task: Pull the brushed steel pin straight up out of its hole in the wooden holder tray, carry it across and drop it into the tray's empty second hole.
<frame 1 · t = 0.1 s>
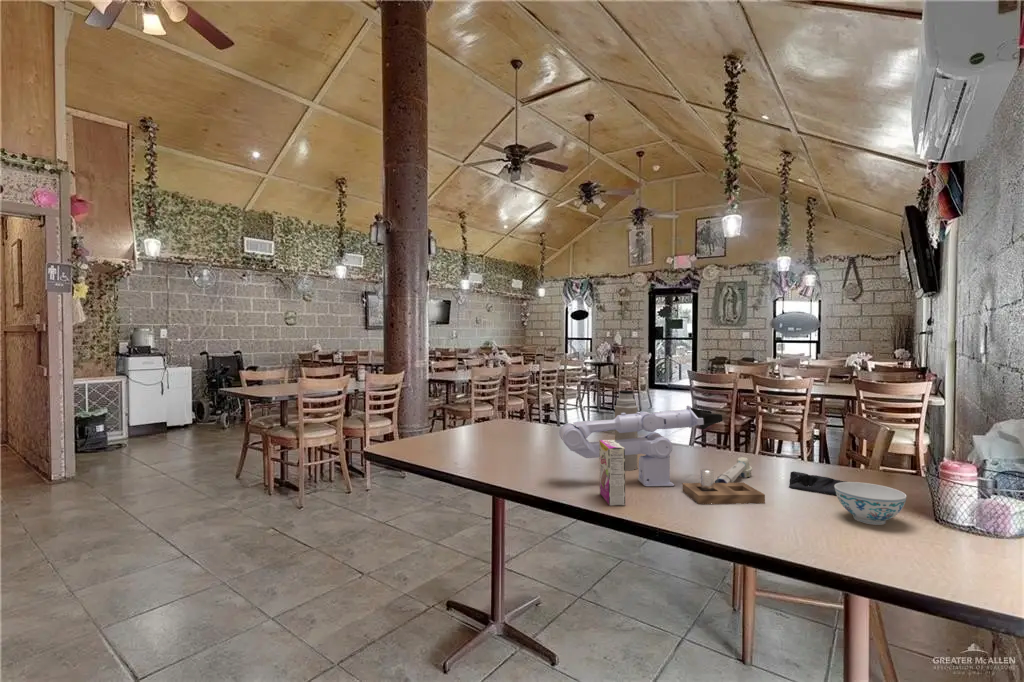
hand: (716, 416, 161), 22 cm above the table, tool horizontal, fingers open, 7 cm apart
steel pin: (707, 497, 146), resting in wooden holder tray
candy bar box: (611, 500, 144), on the table
thermos bottle: (626, 468, 181), on the table
chinaware: (869, 521, 128), on the table
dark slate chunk: (830, 491, 154), on the table
wooden holder tray: (722, 497, 146), on the table
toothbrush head: (734, 482, 162), on the table, touching wooden holder tray
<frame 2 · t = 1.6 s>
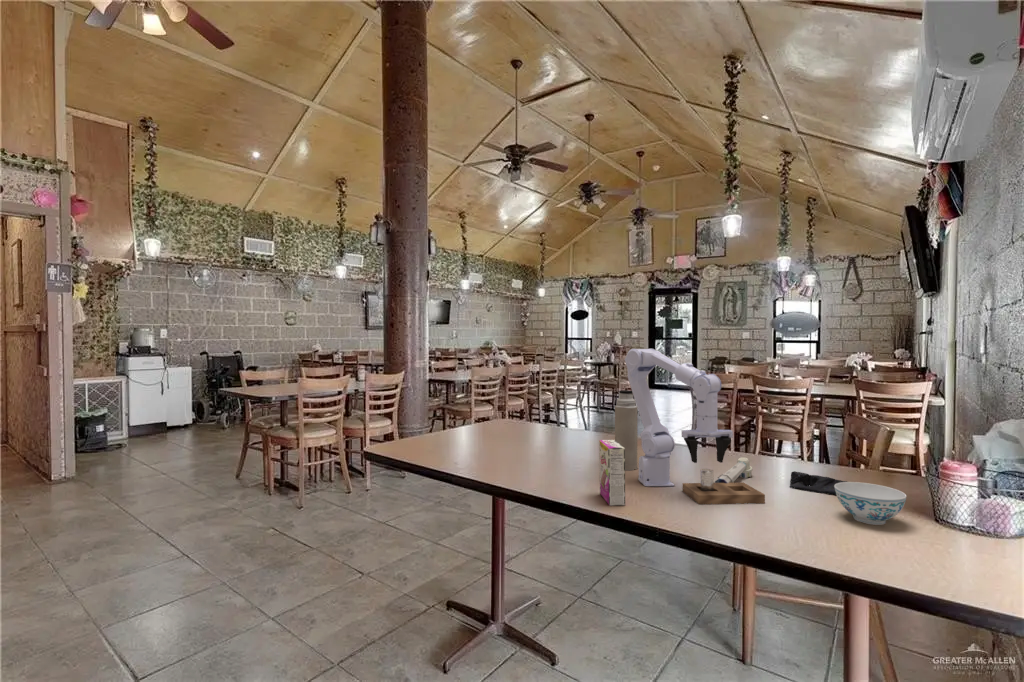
hand: (707, 461, 146), 10 cm above the table, tool pointing down, fingers open, 7 cm apart
nothing on the table moved.
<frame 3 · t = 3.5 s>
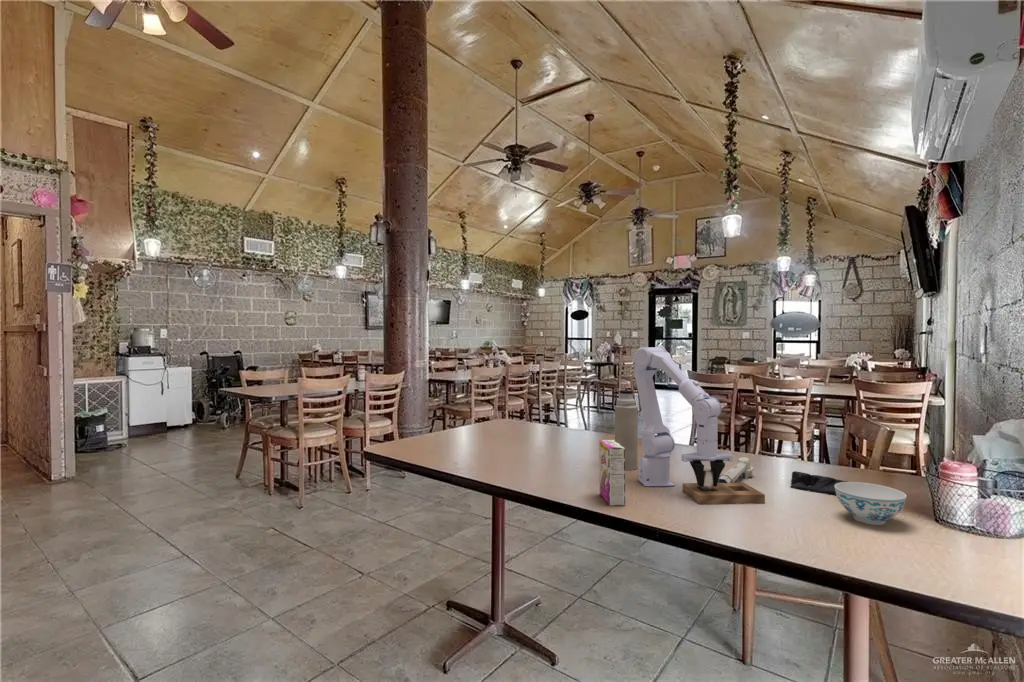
hand: (707, 485, 146), 3 cm above the table, tool pointing down, fingers closed on steel pin, 4 cm apart
steel pin: (707, 497, 146), resting in wooden holder tray, touching gripper
everything else where it was.
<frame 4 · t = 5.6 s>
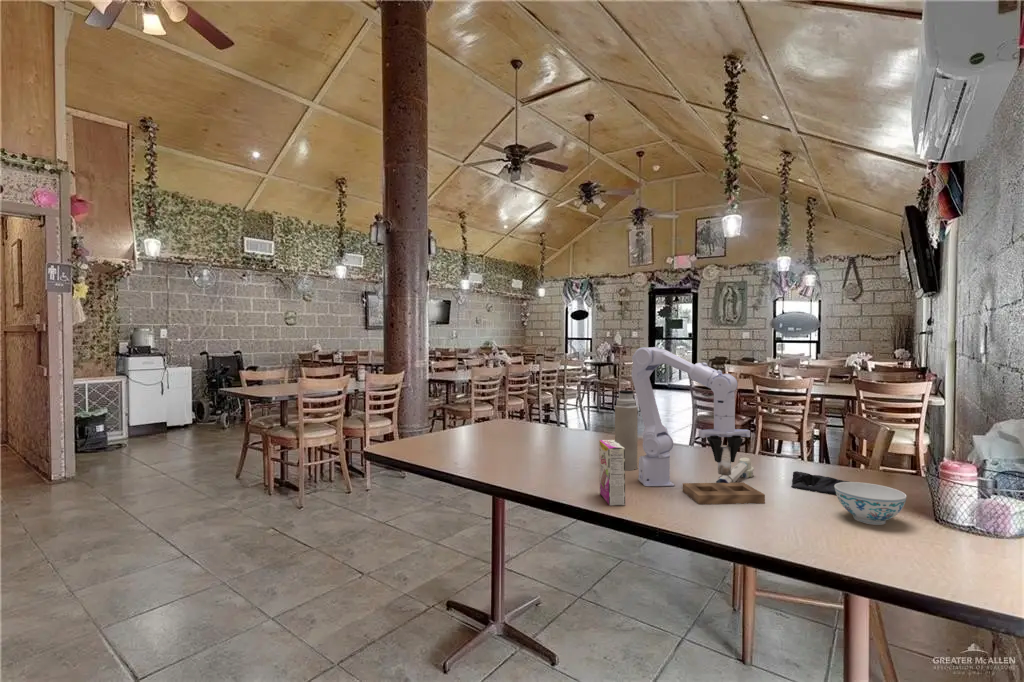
hand: (724, 461, 146), 10 cm above the table, tool pointing down, fingers closed on steel pin, 4 cm apart
steel pin: (724, 473, 146), point 7 cm above the table, touching gripper
everything else where it was.
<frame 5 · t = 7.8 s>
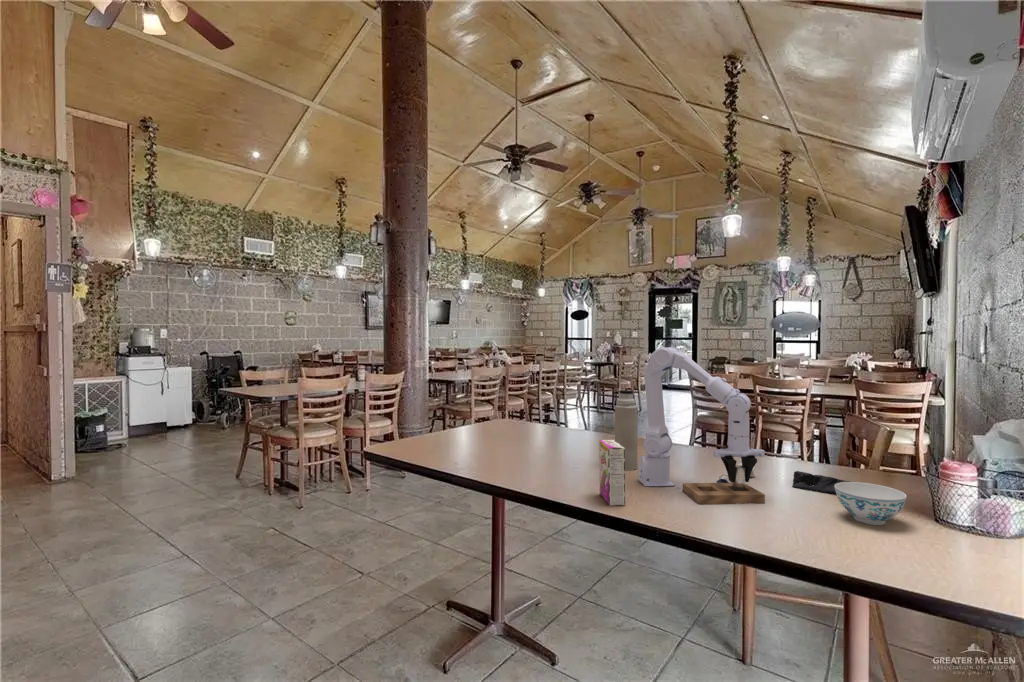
hand: (738, 481, 147), 5 cm above the table, tool pointing down, fingers closed on steel pin, 4 cm apart
steel pin: (738, 493, 147), point 1 cm above the table, touching gripper
when the fingers open (5 cm above the table, at t = 8.1 s): steel pin drops 1 cm, resting in wooden holder tray.
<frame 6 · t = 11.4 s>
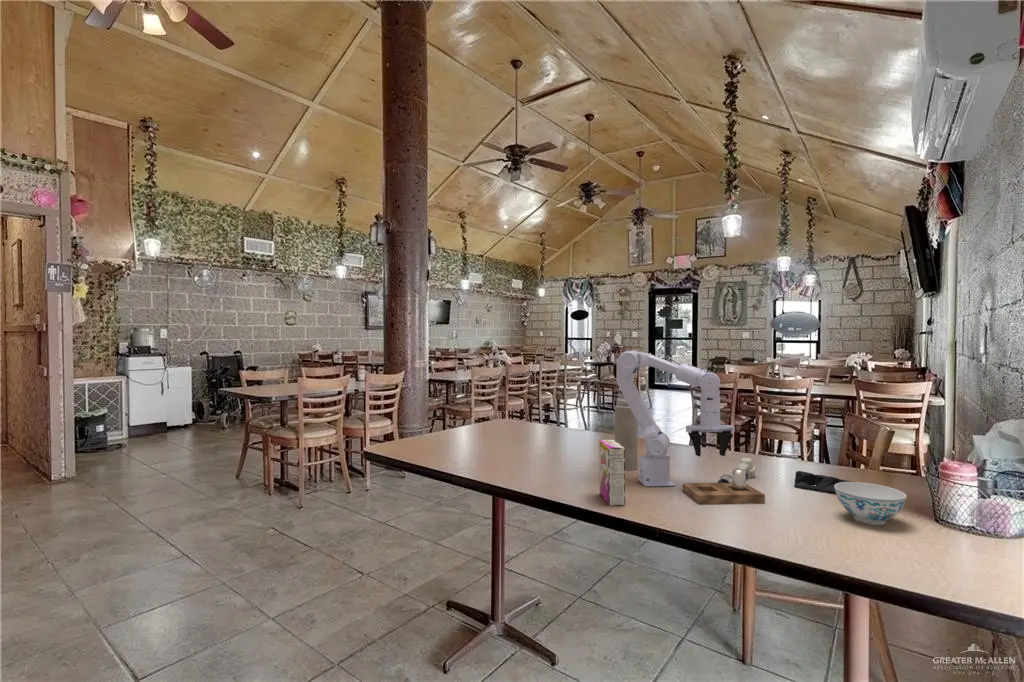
hand: (710, 455, 154), 10 cm above the table, tool pointing down, fingers open, 7 cm apart
steel pin: (738, 497, 147), resting in wooden holder tray
at the end: steel pin 0.1 cm from the target spot on the wooden holder tray, point 0.0 cm above the wooden holder tray's base; steel pin tilted 0°; the gripper is holding nothing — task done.
